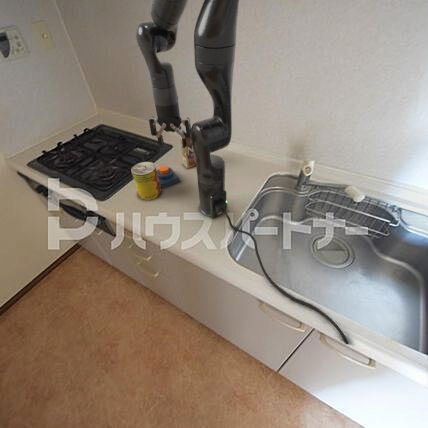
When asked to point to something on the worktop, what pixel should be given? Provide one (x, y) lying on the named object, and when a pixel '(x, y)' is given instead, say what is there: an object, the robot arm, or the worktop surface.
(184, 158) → the candy box
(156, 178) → the yellow food can
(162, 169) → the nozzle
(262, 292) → the worktop surface
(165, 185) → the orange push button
